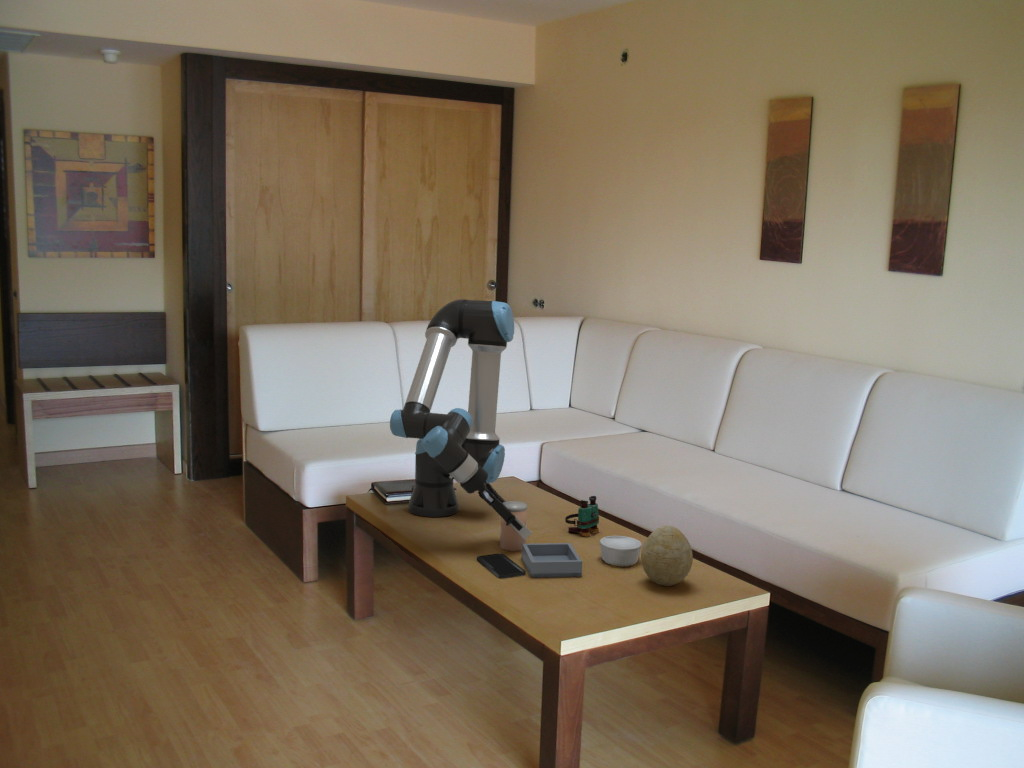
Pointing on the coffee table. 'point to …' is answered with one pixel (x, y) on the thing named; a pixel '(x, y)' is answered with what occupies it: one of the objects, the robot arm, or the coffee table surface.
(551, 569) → the tray
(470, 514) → the coffee table surface
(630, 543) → the ramekin
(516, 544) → the beige round cylinder
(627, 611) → the coffee table surface
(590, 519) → the binoculars
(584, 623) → the coffee table surface
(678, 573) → the fossilized egg
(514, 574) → the phone
